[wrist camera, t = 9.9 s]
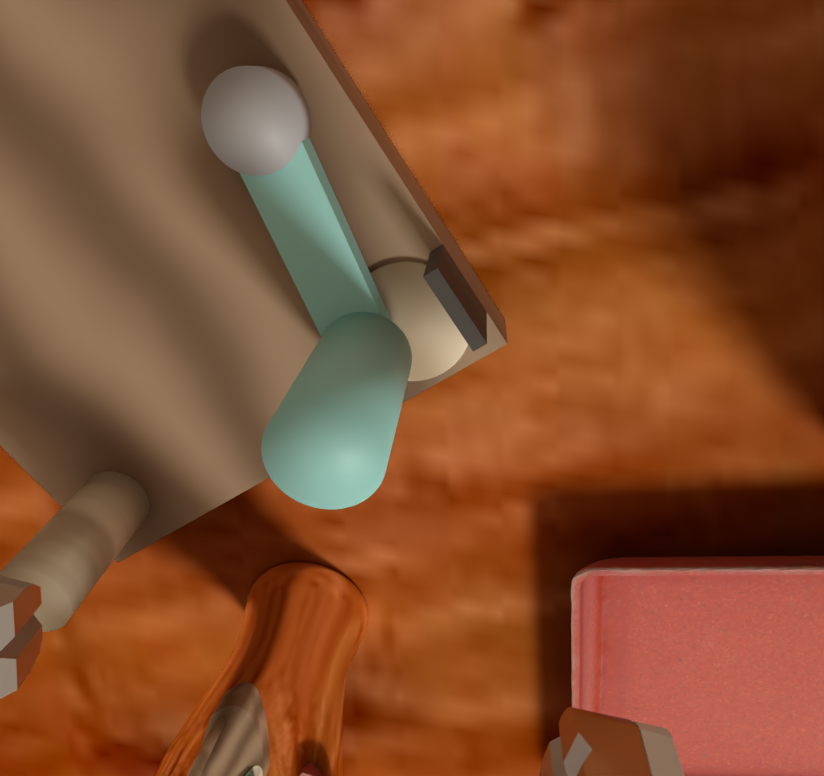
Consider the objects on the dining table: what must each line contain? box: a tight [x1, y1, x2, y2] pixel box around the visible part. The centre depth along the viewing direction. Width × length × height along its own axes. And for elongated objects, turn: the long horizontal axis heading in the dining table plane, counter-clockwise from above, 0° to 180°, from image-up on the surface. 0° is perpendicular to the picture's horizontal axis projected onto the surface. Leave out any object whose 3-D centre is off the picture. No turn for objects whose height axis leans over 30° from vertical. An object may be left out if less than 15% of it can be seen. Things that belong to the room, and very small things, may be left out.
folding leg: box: [201, 66, 412, 509], centre depth 19 cm, size 11×3×8 cm, turn 23°
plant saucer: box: [571, 556, 824, 776], centre depth 31 cm, size 18×18×3 cm
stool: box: [0, 0, 507, 631], centre depth 22 cm, size 20×20×8 cm
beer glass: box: [154, 562, 368, 776], centre depth 26 cm, size 7×7×15 cm
